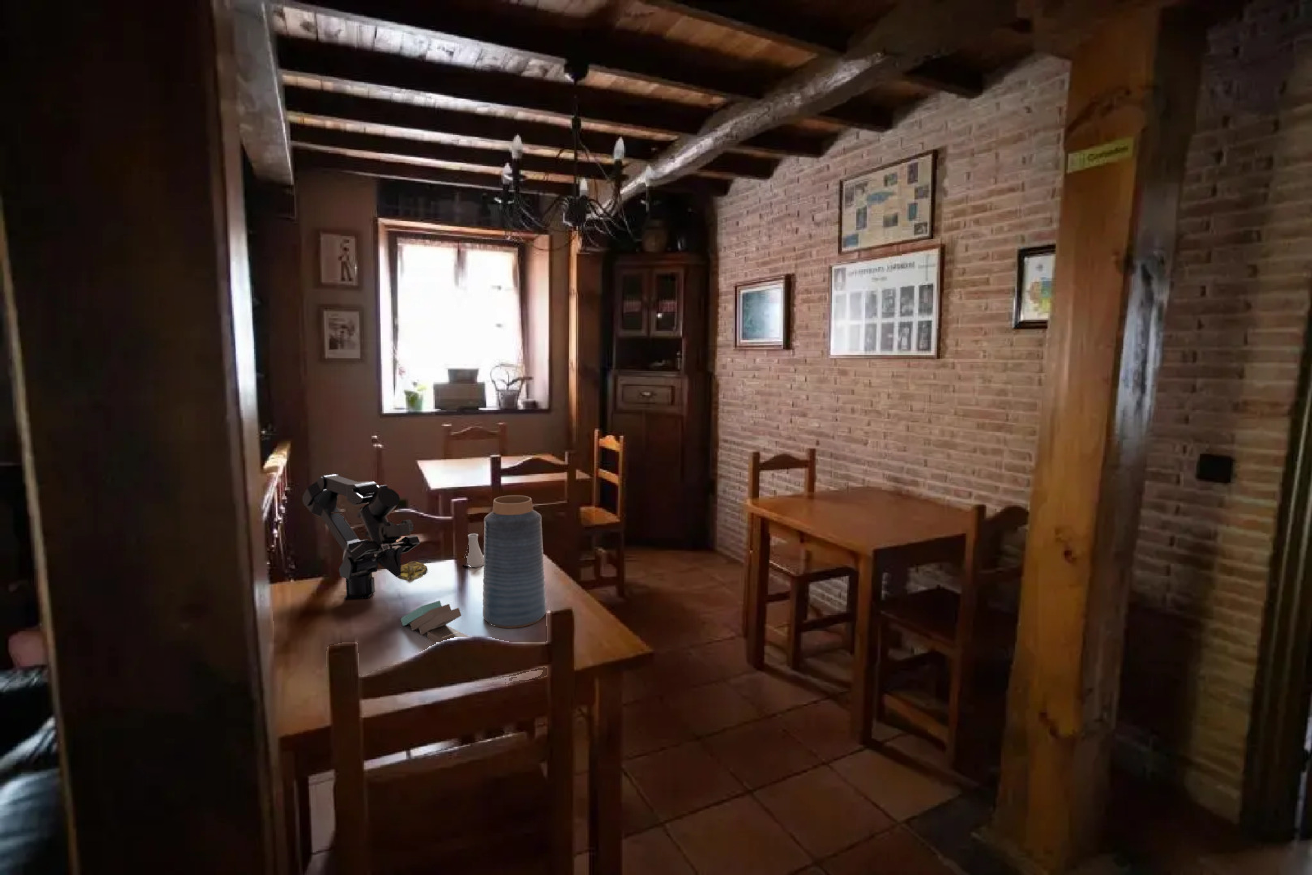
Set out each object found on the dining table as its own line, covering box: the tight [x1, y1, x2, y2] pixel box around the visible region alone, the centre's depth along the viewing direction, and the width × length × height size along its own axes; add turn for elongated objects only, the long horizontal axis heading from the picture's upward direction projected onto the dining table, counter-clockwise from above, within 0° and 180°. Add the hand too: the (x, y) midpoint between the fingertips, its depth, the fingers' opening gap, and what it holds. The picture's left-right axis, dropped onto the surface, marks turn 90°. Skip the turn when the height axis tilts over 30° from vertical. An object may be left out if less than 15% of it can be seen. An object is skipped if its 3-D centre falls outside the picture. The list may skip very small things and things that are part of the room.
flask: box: [466, 533, 484, 569], centre depth 212 cm, size 7×7×10 cm
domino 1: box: [409, 603, 452, 631], centre depth 161 cm, size 2×5×12 cm
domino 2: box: [418, 607, 462, 636], centre depth 159 cm, size 2×5×12 cm
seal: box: [399, 560, 428, 581], centre depth 205 cm, size 9×5×15 cm
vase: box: [482, 494, 547, 629], centre depth 170 cm, size 16×16×32 cm
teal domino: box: [400, 600, 442, 627], centre depth 164 cm, size 2×5×12 cm
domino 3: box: [426, 624, 470, 644], centre depth 156 cm, size 2×5×12 cm
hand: (398, 576), depth 173 cm, fingers closed
